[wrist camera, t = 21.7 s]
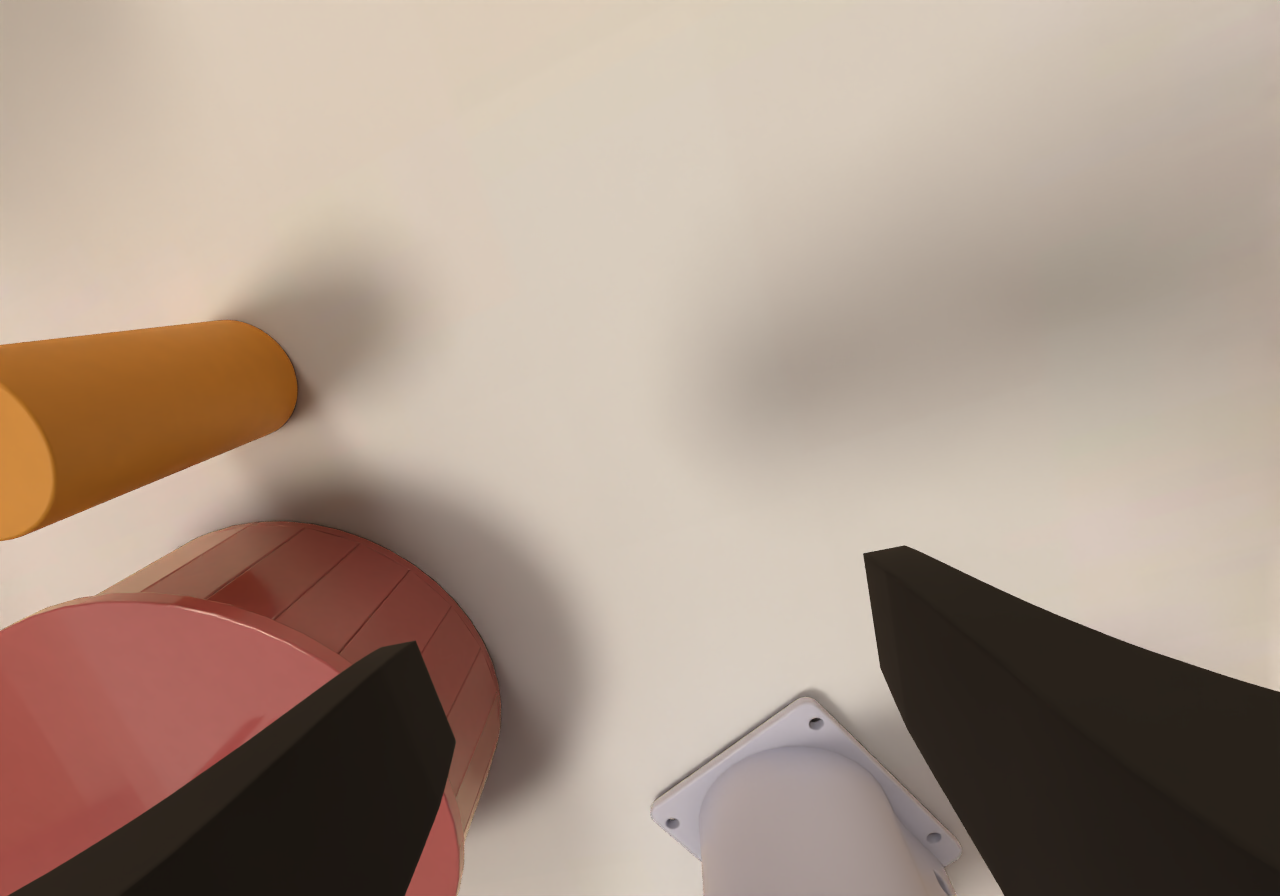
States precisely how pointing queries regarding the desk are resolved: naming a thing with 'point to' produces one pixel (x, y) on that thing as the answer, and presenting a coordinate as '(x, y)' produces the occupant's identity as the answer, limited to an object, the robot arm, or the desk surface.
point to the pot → (348, 616)
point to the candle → (129, 412)
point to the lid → (148, 720)
